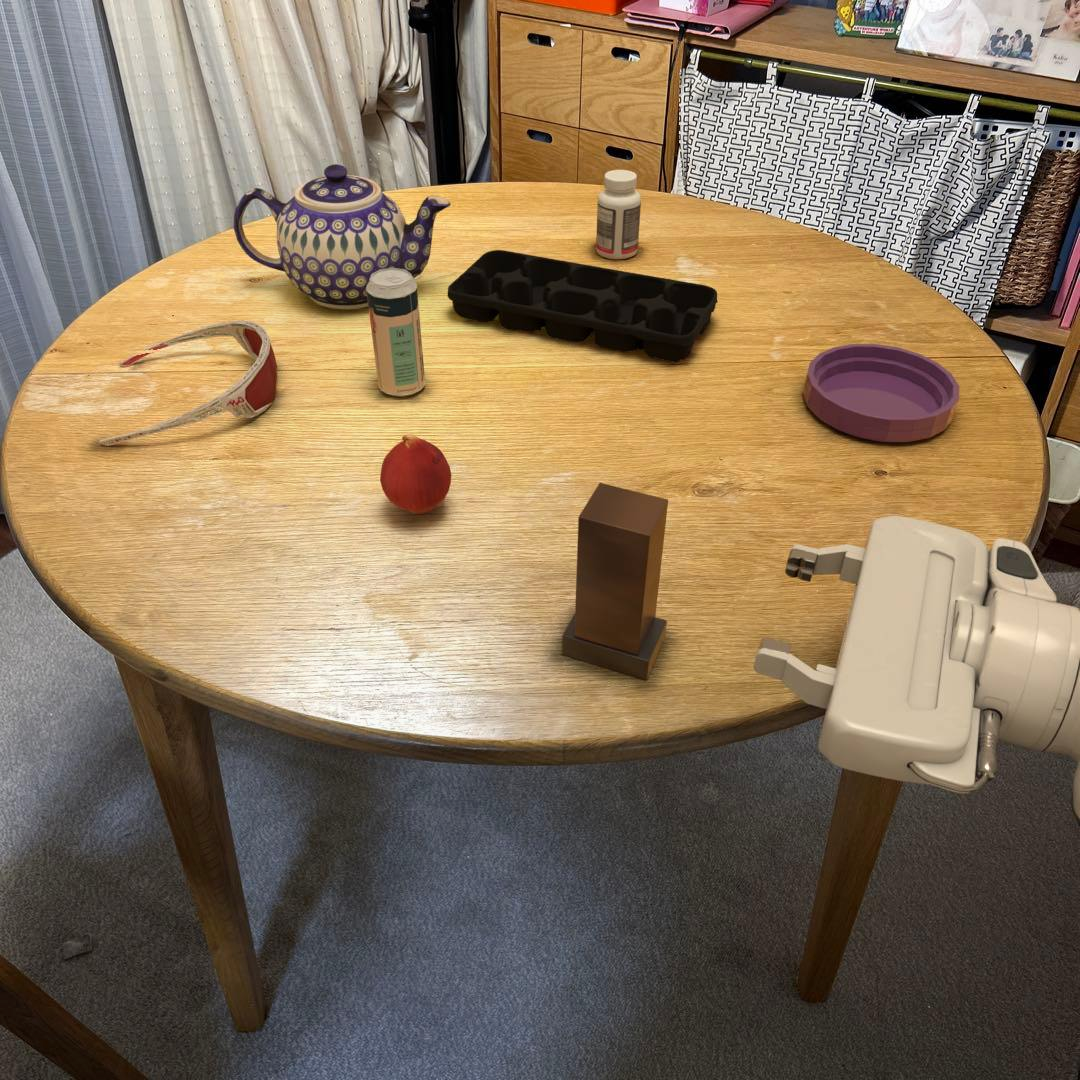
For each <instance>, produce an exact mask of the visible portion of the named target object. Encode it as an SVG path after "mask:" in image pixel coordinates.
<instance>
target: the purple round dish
mask: <svg viewBox="0 0 1080 1080" xmlns="http://www.w3.org/2000/svg"><path fill="white" fill-rule="evenodd" d="M802 395H803V398H804V400H805V401H804V402H805V404H806V406H807V408H808V410H810V411H811V412H812V413H813V414H814V415H815V416H816V417H817V418H818V419H819V420H820V421H821V422H823V423H825V424H827V425H829V426H830V427H832V428H834V429H835V430H837V431H840V432H841V433H843V434H847V435H850V436H852V437H856V438H859V439H863V440H868V441H873V442H880V443H910V442H915V441H920V440H925V439H930V438H932V437H934V436H935V435H938V434H939V433H942V432H944V431H945V430H946V429H947V427H948V426H949V425H950V424H951V422H952V421H953V419H954V415H955V412H956V409H957V406H958V403H959V402H960V401H959V400H960V385H959V383H958V381H957V380H956V378H955V377H954V375H953V373H951V372H950V371H949V370H947V369H946V368H945V367H944V366H943V365H941V364H940V363H939V362H937V361H935V360H933V359H931V358H929V357H927V356H925V355H923V354H921V353H918V352H915V351H912V350H908V349H905V348H902V347H898V346H891V345H886V344H878V343H851V344H845V345H838V346H834V347H831V348H829V349H827V350H823V351H821V352H819V353H818V354H817V355H815V357H814V358H813V359H812V360H811V361H810V362H809V365H808V369H807V373H806V377H805V382H804V388H803V393H802Z"/></svg>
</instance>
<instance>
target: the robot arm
mask: <svg viewBox="0 0 1080 1080" xmlns="http://www.w3.org/2000/svg"><path fill="white" fill-rule="evenodd" d="M790 547H791V548H790V550H789V553H788V557H787V561H786V564H785V570H784V572H785V575H786V576H788V577H789V578H794V579H795V578H798V580H801V581H805V582H807V583H811V581H812V577H813V576H824V575H839V577H838V579H839V580H840V581H842V582H845V583H850V584H853V585H855V586H854V591H853V595H852V599H851V603H850V607H849V611H848V615H847V620H846V625H845V628H844V633H843V636H842V641H841V646H840V650H839V654H838V658H837V662H836V667H832V666H828V665H824V664H821V663H819V664H817V665H816V668H815V669H814V668H812V667H811V666H809V665H808V664H806V663H805V662H803V661H802V660H801V659H799V658H798V657H796V656H795V655H794V654H792V653H790V650H791V647H792V643H790V642H787V641H786V642H785V641H783V640H775V639H774V638H771V637H763V638H761V640H760V643H759V646H758V649H757V652H756V655H755V659H754V664H753V670H754V671H755V672H756V673H757V674H759V675H762V676H766V677H768V678H773V679H776V680H779V681H781V683H782V684H783V685H785V686H786V687H787V689H789V690H790V691H791V692H792V693H794V694H795V695H796V697H798V698H799V699H800V700H802V701H803V702H804V703H805V704H808V705H811V706H814V707H817V708H820V709H824V710H825V714H824V717H823V721H822V726H821V731H820V735H819V739H818V742H817V749H818V751H819V753H821V754H822V755H823V756H824V757H825V759H827V760H828V761H829V762H830V763H831V764H832V765H833V766H835V767H837V768H841V769H844V770H848V771H851V772H855V773H860V774H864V775H867V776H868V775H869V776H873V777H878V778H882V779H888V780H893V781H899V782H905V783H910V784H919V785H930V786H934V787H937V788H940V789H942V790H946V791H949V792H953V793H956V794H969V793H972V792H975V791H978V790H980V789H982V788H983V787H984V786H985V785H986V784H987V783H988V782H991V781H993V780H995V778H996V776H997V773H998V768H999V759H998V756H997V751H998V746H999V745H998V744H999V742H1003V743H1006V744H1010V745H1013V746H1017V747H1021V748H1024V749H1028V750H1031V751H1034V752H1038V753H1044V754H1055V755H1063V756H1065V757H1069V758H1071V759H1072V760H1073V761H1074V762H1075V763H1076V769H1075V772H1074V775H1073V782H1072V788H1071V789H1072V790H1071V800H1070V801H1071V803H1070V806H1071V811H1072V813H1073V815H1074V818H1075V820H1076V822H1077V825H1078V826H1079V828H1080V607H1077V606H1073V605H1068V604H1064V603H1061V602H1057V601H1058V599H1057V598H1058V597H1057V596H1056V593H1055V592H1054V591H1053V589H1052V588H1051V587H1050V585H1049V583H1048V582H1047V581H1046V579H1045V578H1044V576H1043V574H1042V572H1041V570H1040V568H1039V566H1038V564H1037V562H1036V560H1035V558H1034V556H1033V554H1032V552H1031V550H1030V548H1029V547H1028V545H1026V544H1025V543H1024V542H1021V541H1018V540H1015V539H1011V538H1005V537H998V538H995V539H994V540H993V541H992V543H991V546H990V547H989V548H988V545H987V544H986V542H985V541H983V539H982V538H980V537H979V536H977V535H975V534H974V533H971V532H969V531H966V530H963V529H960V528H957V527H953V526H949V525H945V524H940V523H937V522H932V521H928V520H924V519H919V518H914V517H909V516H902V515H896V514H895V515H887V516H881V517H878V518H875V519H873V520H872V521H871V524H870V527H869V530H868V534H867V537H866V541H865V545H864V547H862V546H857V545H853V544H849V543H846V544H840V545H833V546H832V545H831V546H824V547H819V548H815V547H811V546H808V545H803V544H798V543H796V544H793V545H792V546H790ZM976 778H977V780H976Z"/></svg>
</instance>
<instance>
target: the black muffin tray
mask: <svg viewBox="0 0 1080 1080" xmlns="http://www.w3.org/2000/svg"><path fill="white" fill-rule="evenodd" d="M447 298H448V299H449V300H450V301H452V308H453V311H454V312H455V314H456V315H457V316H459V317H460V318H461V319H462V318H463V319H465V320H469V321H473V322H474V321H475V322H478V323H490V322H492V321H494V320H495V319H496V318H497V316H498V322H499V325H500V326H501V327H502V328H503V329H505V330H510V331H514V332H523V333H532V332H533V333H534V332H537V331H539V332H540V331H542V329H543V328H544V329H545V330H544V331H543V333H546V336H547V337H549V338H551V339H554V340H561V341H566V342H574V343H581V342H582V343H583V342H585V341H586V340H588V339H589V338H590V336H591V335H592V334H593V342H594V344H595V345H596V346H598V347H600V348H604V349H606V350H611V351H618V352H622V353H625V352H626V353H627V352H634V351H635V352H640V351H641V350H643V353H644V354H645V355H646V356H647V357H649V358H652V359H658V360H661V361H662V360H663V361H666V362H671V363H672V362H673V363H679V362H681V361H685V360H687V358H689V356H690V355H691V353H692V350H693V346H694V344H695V341H697V339H698V337H699V335H702V334H703V333H704V332H705V331H706V330H707V328H708V327H709V325H710V324H711V319H712V313H714V312H715V310H716V306H717V304H718V303H719V300H718V291H717V290H716V289H715V288H714V287H712V286H709V285H705V284H700V283H695V282H688V281H684V280H683V281H682V280H676V279H671V278H666V277H659V276H654V275H648V274H640V273H636V272H631V271H625V270H618V269H612V268H607V267H603V266H601V267H600V266H595V265H590V264H584V263H578V262H573V261H567V260H561V259H555V258H549V257H543V256H538V255H532V254H526V253H522V252H516V251H510V250H505V249H494V250H489V251H487V252H486V251H485V253H483V254H482V255H481V256H479V258H478V259H476V260H475V261H474V263H472V264H471V265H470V266H469V267H468V268H467V269H466V270H465V271H464V272H463V273H461V274H460V276H458V277H457V278H456V279H455V280H453V281H452V282H451V283H450V284H449V285H448V287H447Z"/></svg>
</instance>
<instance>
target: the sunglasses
mask: <svg viewBox="0 0 1080 1080" xmlns="http://www.w3.org/2000/svg"><path fill="white" fill-rule="evenodd" d="M219 337H220V338H223V337H226V338H227V337H232V338H233V339H235V340H236V341H237V343H238V344H239V346H240V347H242V349H243V350H244V351H245V352H246V353H247V354H248V355H249V356H250V357H251V358H252V359H253V360H254V361H255V362H253V364H252V365H251V366H250V367H249V369H247V371H246V372H245V374H244V375H243V376H242V377H241V378H240V379H239V380H238V381H236V382H235V383H234V384H233V385H232V386H230V388H227V390H225V391H224V392H223V393H222V394H220V395H218V396H216V397H215V398H213V399H212V400H210V401H208V402H206V403H204V404H202V405H200V406H198V407H195V408H193V409H192V410H189V411H186V412H184V413H183V414H180V415H178V416H176V417H172V418H169V419H167V420H163V421H162V422H159V423H156V424H154V425H151V426H148V427H145V428H141V429H137V430H135V431H130V432H127V433H122V434H119V435H114V436H110V437H107V438H106V437H105V438H101V439H100V440H99V441H98V443H99V445H103V446H107V447H109V446H114V445H118V444H121V443H125V442H128V441H132V440H135V439H138V438H141V437H145V436H150V435H153V434H157V433H162V432H165V431H170V430H172V429H176V428H180V427H185V426H189V425H191V424H192V425H193V424H195V423H199V422H202V421H203V420H206V419H209V418H212V417H215V416H217V415H220V414H222V413H225V412H229V413H230V414H231V415H233V416H234V418H237V419H238V418H241V417H243V418H245V419H252V418H254V417H256V416H258V415H260V414H261V413H264V411H266V410H267V409H268V408H269V407H270V406H272V404H273V403H272V402H273V401H274V400H275V397H276V393H277V383H278V382H277V381H278V370H277V369H278V364H277V359H276V354H275V351H274V349H273V346H272V343H271V339H270V336H269V334H268V332H267V330H266V329H264V327H262V326H261V325H260V324H258V323H256V322H254V321H249V320H233V321H223V322H219V323H215V324H211V325H207V326H203V327H200V328H197V329H194V330H191V331H186V332H184V333H182V334H180V335H176V336H173V337H170V338H168V339H165V340H163V341H160V342H158V343H155V344H152V345H151V346H148V347H145V348H142V350H143V351H145V350H151V349H153V350H157V349H160V350H162V349H165V348H168V347H171V346H174V345H178V344H181V343H186V342H187V343H188V342H192V341H198V340H203V339H210V338H219ZM157 351H158V350H157ZM153 353H154V352H152V353H145V354H141V355H136V356H133V355H134V354H132V355H129V356H128V357H127V358H125V359H123V360H121V361H119V362H118V364H117V365H118V366H119V367H124V368H126V367H129V366H132V365H133V364H134V363H136V362H138V361H140V360H141V359H143V358H146V357H147V356H149V355H151V354H153Z"/></svg>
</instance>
